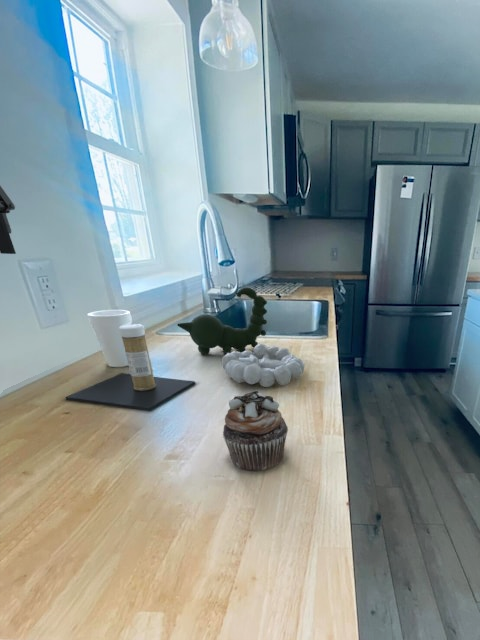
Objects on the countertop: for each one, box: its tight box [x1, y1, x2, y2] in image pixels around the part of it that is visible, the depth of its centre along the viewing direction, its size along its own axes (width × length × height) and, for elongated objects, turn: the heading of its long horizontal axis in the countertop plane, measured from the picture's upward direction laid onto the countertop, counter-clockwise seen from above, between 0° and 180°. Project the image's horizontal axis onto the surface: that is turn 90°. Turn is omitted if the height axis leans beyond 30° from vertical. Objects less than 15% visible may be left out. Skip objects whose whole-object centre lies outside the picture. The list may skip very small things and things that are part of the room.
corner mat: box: [65, 372, 196, 412], centre depth 80 cm, size 20×16×1 cm
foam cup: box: [86, 309, 133, 368], centre depth 94 cm, size 10×9×13 cm
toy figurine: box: [176, 287, 268, 356], centre depth 105 cm, size 9×19×25 cm
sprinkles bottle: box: [119, 323, 156, 391], centre depth 77 cm, size 5×5×13 cm
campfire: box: [221, 343, 306, 388], centre depth 89 cm, size 22×21×6 cm
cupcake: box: [222, 390, 289, 472], centre depth 54 cm, size 10×10×10 cm
